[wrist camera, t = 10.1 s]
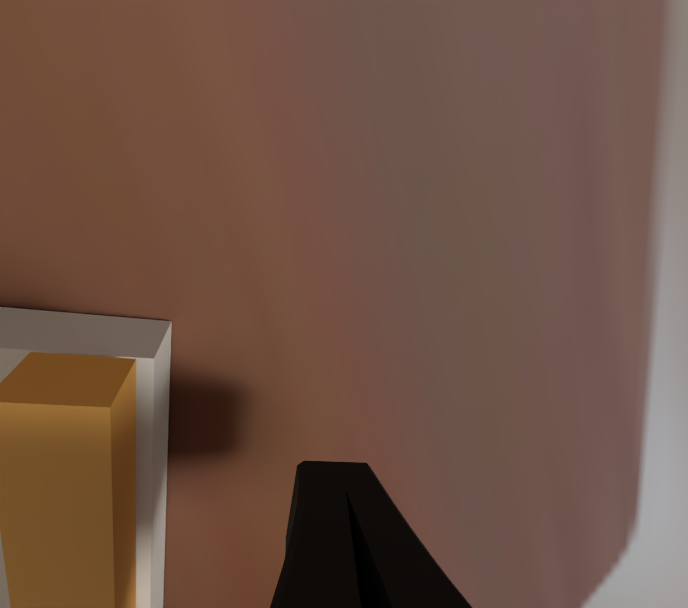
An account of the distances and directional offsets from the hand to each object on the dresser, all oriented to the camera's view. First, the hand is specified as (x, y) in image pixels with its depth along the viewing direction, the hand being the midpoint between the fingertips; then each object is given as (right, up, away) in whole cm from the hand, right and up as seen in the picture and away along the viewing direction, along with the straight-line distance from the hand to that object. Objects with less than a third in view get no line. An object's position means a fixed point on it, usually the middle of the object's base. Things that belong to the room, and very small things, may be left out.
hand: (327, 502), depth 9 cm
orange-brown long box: (-5, -2, +1) cm, 5 cm away
